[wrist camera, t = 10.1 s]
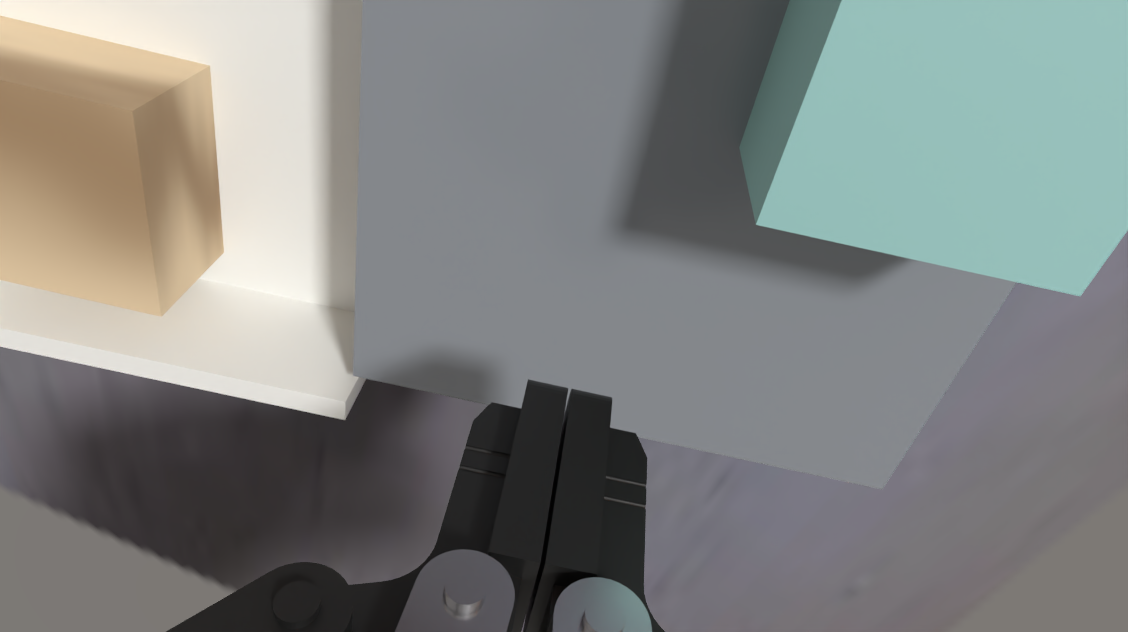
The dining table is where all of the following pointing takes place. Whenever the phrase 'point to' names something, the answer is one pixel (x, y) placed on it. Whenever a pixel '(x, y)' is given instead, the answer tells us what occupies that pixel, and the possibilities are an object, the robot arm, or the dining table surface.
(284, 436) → the dining table surface
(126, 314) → the tray
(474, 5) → the board
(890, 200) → the seafoam green cuboid
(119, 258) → the thick tan wooden block
